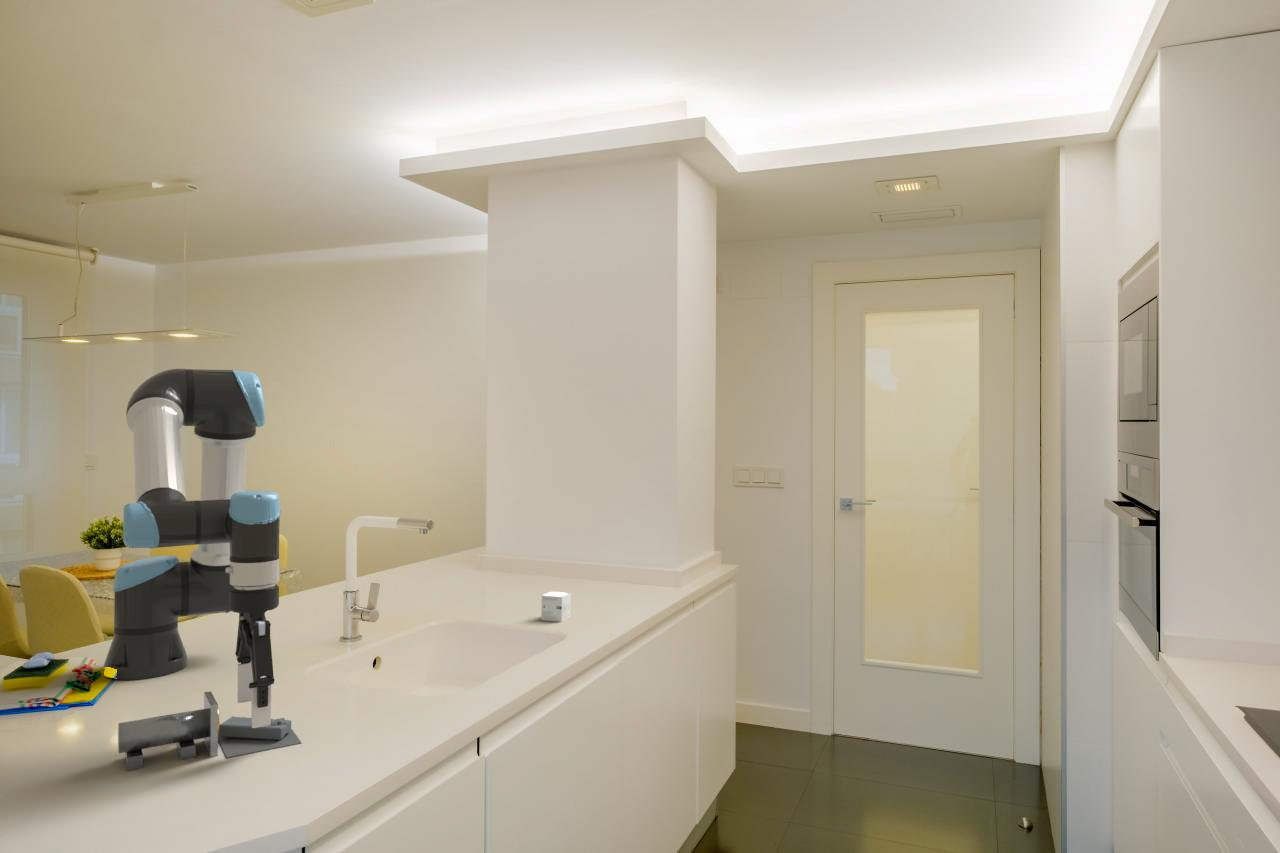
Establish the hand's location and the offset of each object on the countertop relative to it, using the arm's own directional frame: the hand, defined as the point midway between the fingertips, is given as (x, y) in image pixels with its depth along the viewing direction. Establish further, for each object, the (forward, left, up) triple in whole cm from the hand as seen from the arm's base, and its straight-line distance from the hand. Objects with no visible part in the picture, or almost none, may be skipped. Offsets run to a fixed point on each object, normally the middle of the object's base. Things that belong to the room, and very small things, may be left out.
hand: (253, 713), depth 138 cm
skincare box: (-47, +82, -4) cm, 94 cm away
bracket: (-4, -2, -5) cm, 6 cm away
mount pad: (0, 0, -4) cm, 4 cm away
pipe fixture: (+1, -13, -4) cm, 14 cm away
